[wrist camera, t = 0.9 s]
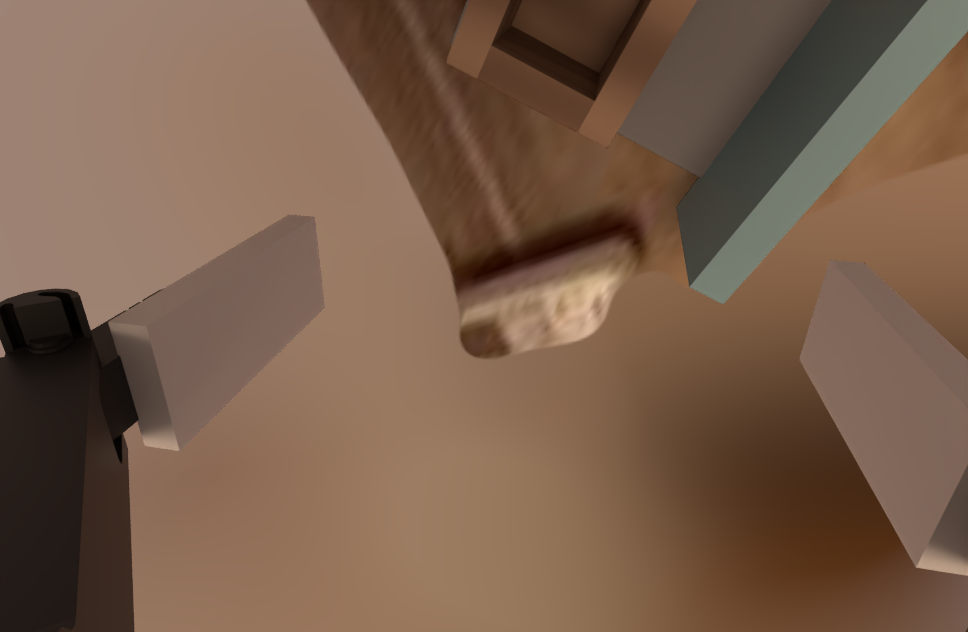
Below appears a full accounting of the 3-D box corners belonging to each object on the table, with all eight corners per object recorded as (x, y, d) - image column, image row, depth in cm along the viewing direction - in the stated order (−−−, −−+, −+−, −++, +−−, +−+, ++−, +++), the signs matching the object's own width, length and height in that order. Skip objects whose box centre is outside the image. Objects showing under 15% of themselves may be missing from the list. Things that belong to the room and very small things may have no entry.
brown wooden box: (547, -142, 29) (528, -154, 23) (704, -51, 30) (722, -43, 24) (475, 37, 34) (445, 62, 29) (610, 110, 35) (607, 148, 29)
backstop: (560, -241, 27) (532, -305, 19) (904, -37, 29) (1010, -17, 21) (437, 81, 37) (383, 129, 29) (702, 221, 38) (722, 304, 30)
